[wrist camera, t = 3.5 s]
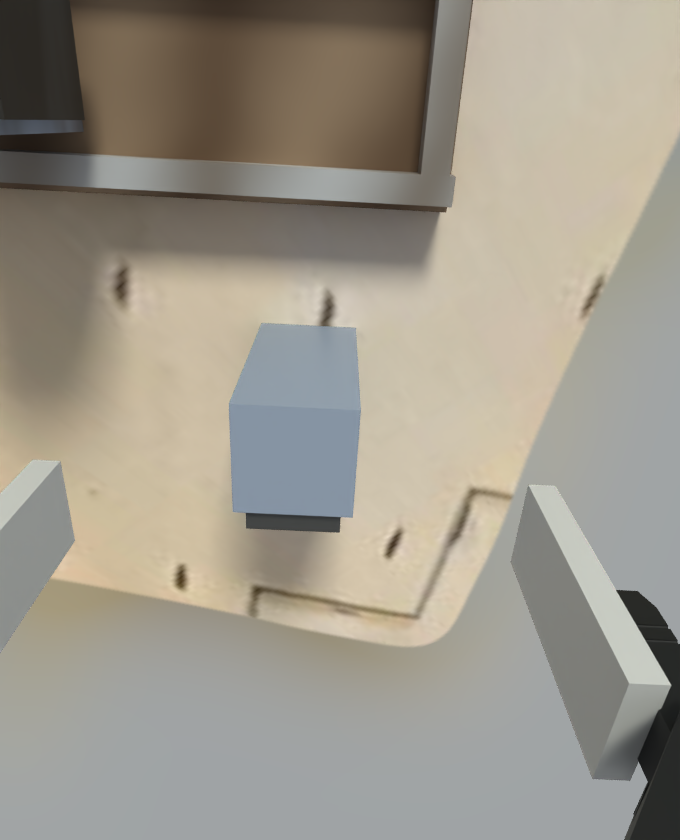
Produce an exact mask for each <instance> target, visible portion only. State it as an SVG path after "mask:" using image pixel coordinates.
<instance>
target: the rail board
mask: <svg viewBox="0 0 680 840" xmlns="http://www.w3.org/2000/svg"><path fill="white" fill-rule="evenodd" d="M472 4H473V0H0V188H14V189H32V190H50V191H68V192H86V193H105V194H123V195H141V196H159V197H177V198H195V199H214V200H232V201H250V202H268V203H286V204H304V205H322V206H341V207H359V208H377V209H395V210H413V211H431V212H446V210H447V207H452V201H453V194H454V186H455V178H456V177H455V176H453V175H451V170H452V162H453V154H454V146H455V138H456V131H457V123H458V115H459V107H460V99H461V91H462V83H463V75H464V67H465V59H466V51H467V44H468V36H469V28H470V20H471V12H472Z"/></svg>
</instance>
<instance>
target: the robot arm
mask: <svg viewBox="0 0 680 840" xmlns="http://www.w3.org/2000/svg"><path fill="white" fill-rule="evenodd" d="M74 541H75V538H74V533H73V527H72V522H71V517H70V511H69V506H68V500H67V495H66V489H65V484H64V478H63V473H62V467H61V462H60V461H50V460H32V461H31V462H30V463H29V464H28V465H27V466H26V467H25V468H24V469H23V470H22V471H21V472H20V473H19V475H18V476H17V477H16V478H15V479H14V480H13V481H12V482H11V483H10V484H9V485H8V486H7V487H6V488H5V489H4V490H3V491H2V492H1V493H0V653H1V651H2V650H3V648H4V647H5V645H6V644H7V642H8V641H9V639H10V638H11V636H12V634H13V633H14V632H15V630H16V628H17V627H18V625H19V624H20V622H21V621H22V619H23V618H24V616H25V614H26V613H27V612H28V610H29V609H30V607H31V606H32V604H33V603H34V601H35V600H36V598H37V597H38V595H39V594H40V592H41V591H42V589H43V588H44V586H45V585H46V583H47V582H48V580H49V579H50V577H51V576H52V574H53V573H54V571H55V570H56V568H57V567H58V565H59V564H60V562H61V561H62V559H63V558H64V556H65V555H66V553H67V552H68V550H69V549H70V547H71V546H72V544H73V543H74ZM511 564H512V566H513V569H514V572H515V574H516V577H517V580H518V582H519V585H520V588H521V590H522V593H523V596H524V598H525V601H526V604H527V606H528V609H529V612H530V614H531V617H532V620H533V622H534V625H535V628H536V630H537V633H538V636H539V638H540V641H541V644H542V646H543V649H544V651H545V654H546V657H547V659H548V662H549V664H550V667H551V670H552V673H553V675H554V678H555V681H556V683H557V686H558V689H559V691H560V694H561V697H562V699H563V702H564V704H565V707H566V710H567V713H568V715H569V718H570V721H571V723H572V726H573V729H574V731H575V734H576V736H577V739H578V741H579V744H580V747H581V750H582V752H583V755H584V758H585V760H586V763H587V766H588V768H589V771H590V774H591V776H592V779H606V780H629V781H630V780H631V778H632V775H633V773H634V771H635V768H636V766H637V764H638V761H639V763H640V765H641V768H642V770H643V772H644V774H645V776H646V778H647V781H648V783H647V785H646V787H645V790H644V792H643V794H642V796H641V798H640V800H639V803H638V805H637V807H636V809H635V811H634V817H633V819H632V822H631V824H630V826H629V829H628V832H627V834H626V836H625V839H624V840H680V644H678V643H677V639H676V637H675V636H674V634H673V633H672V631H671V629H668V625H667V623H666V622H665V620H664V619H663V617H662V616H661V614H660V612H659V611H658V609H657V608H656V607H655V606H654V605H653V604H651V602H649V601H648V600H647V599H646V598H645V597H643V596H642V595H641V594H640V593H639V592H638V591H623V590H616V589H615V588H614V586H613V584H612V583H611V581H610V579H609V578H608V576H607V574H606V572H605V571H604V569H603V567H602V566H601V564H600V562H599V560H598V558H597V557H596V555H595V553H594V552H593V550H592V548H591V546H590V545H589V543H588V541H587V540H586V538H585V536H584V534H583V533H582V531H581V529H580V527H579V526H578V524H577V522H576V521H575V519H574V517H573V516H572V514H571V512H570V510H569V509H568V507H567V505H566V503H565V502H564V500H563V498H562V497H561V495H560V493H559V491H558V490H557V488H556V486H544V485H528V488H527V493H526V497H525V502H524V506H523V510H522V515H521V519H520V524H519V528H518V533H517V537H516V542H515V545H514V551H513V554H512V559H511Z"/></svg>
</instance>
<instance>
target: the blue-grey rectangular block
mask: <svg viewBox="0 0 680 840" xmlns="http://www.w3.org/2000/svg"><path fill="white" fill-rule="evenodd" d="M360 413H361V407H360V390H359V373H358V357H357V340H356V328H348V327H328V326H309V325H289V324H270V323H261V326H260V328H259V331H258V333H257V336H256V338H255V341H254V343H253V346H252V348H251V350H250V353H249V355H248V358H247V360H246V363H245V365H244V368H243V370H242V373H241V375H240V378H239V380H238V383H237V385H236V388H235V390H234V392H233V395H232V397H231V400H230V402H229V420H230V447H231V474H232V501H233V512H241V513H246V528H250V529H272V530H295V531H317V532H339V533H340V517H352V518H353V506H354V493H355V479H356V466H357V453H358V440H359V426H360Z"/></svg>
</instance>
